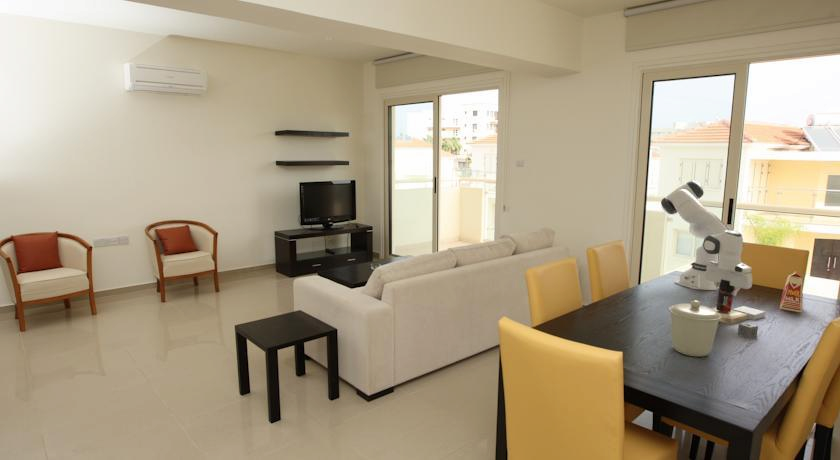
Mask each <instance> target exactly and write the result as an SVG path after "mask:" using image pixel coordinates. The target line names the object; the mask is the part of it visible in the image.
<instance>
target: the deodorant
mask: <svg viewBox="0 0 840 460" xmlns="http://www.w3.org/2000/svg"><path fill="white" fill-rule="evenodd" d="M732 291H735V286H731V285H730V281H727V280H723V279H721V282H720V283H719V292H718V295H717V302H716V307H717V308H716V309H717V310H719V311H722V312H731V310H732V305H733V297H734V296H733V295H731V294H732Z"/></svg>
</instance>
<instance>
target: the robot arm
mask: <svg viewBox="0 0 840 460" xmlns="http://www.w3.org/2000/svg"><path fill="white" fill-rule="evenodd" d="M704 193H705V192H704V188H703V186H702V185H701V184H700V183H699V182H697V181H696V180H690V181H688V182H686V183H685V184H682V185H681V186H679V187H678V188H676V189H675V190H673V191H672V192H670V193H669V194H668V195H667V196H665V197H663V198H662V199H661V201H660V204H661V208H662V210H663V211H664V212H665V213H667V214H669V215H675V214H678V215H679V216H680V217H681V219H682V220H683V221H684V222H686V223H688V224H689V228H688V229H689V232H690V234H691V235H692V236H694V237H695V238H698V239H701V240H703V242H702V244H701V246H700V247H698V248H697V249H696V250H695V251H696V252H695V261H693V262H691V263H690V266H691V268H689V269H686V270H684V271H683V272H681V274H680V275H679V279H676V280H674V283H675V284H678V285H680V286H683V287H686V288H689V289H693V290H703V291H704V290H705V291H715V292H717V293H719V287H720V282H721V279H723V280H727V281H730V285H731V286H734V291H732V294H731V295H733V297H736V296H737V295H738V294H737V293H738V292H739V291H740V290H741V289H744V290H748V289H751V288H752V286H753V274H752V273H751V272H752V271H753V270H752V269H753V268H752V267H751V266H749V265H747V264H746V263H743V262H742V252H743V248H744V239H743V234H742V233H741V232H739V231H737V230H733V229H730V227H729V226H728V225H726V224H725V223H724V222H723V221H722V220H721V219H720V218H719V217H718V216H717V215H715V214H714V213H712V212H711V211H709V210H708V209H707V208H706V207H704V205H703V204H702V203H701V201H700V200H699V199H700V198H702V197H703V196H704Z"/></svg>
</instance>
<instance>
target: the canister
mask: <svg viewBox="0 0 840 460" xmlns="http://www.w3.org/2000/svg"><path fill="white" fill-rule="evenodd" d="M711 308H712V307H709V306H705V305H701V301H699V300H695V299H694V300H691V301H690V303H678V304H673V305H672V306H669V308H668V310H669V313H670V334H671V345H672V347H673V349H674V350H675V351H676V352H678V353H680V354H682V355H686V356H690V357H697V358H699V357H701V358H702V357H705V356H708V355H709V354H710V353H711V351H712V350H713V349H712V348H713V345H714V341H715V337H716V334H717V329H718V325H719V322H720V321H719V319H721V314H719V313H718V312H717V311H715V310H714V309H711Z"/></svg>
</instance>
